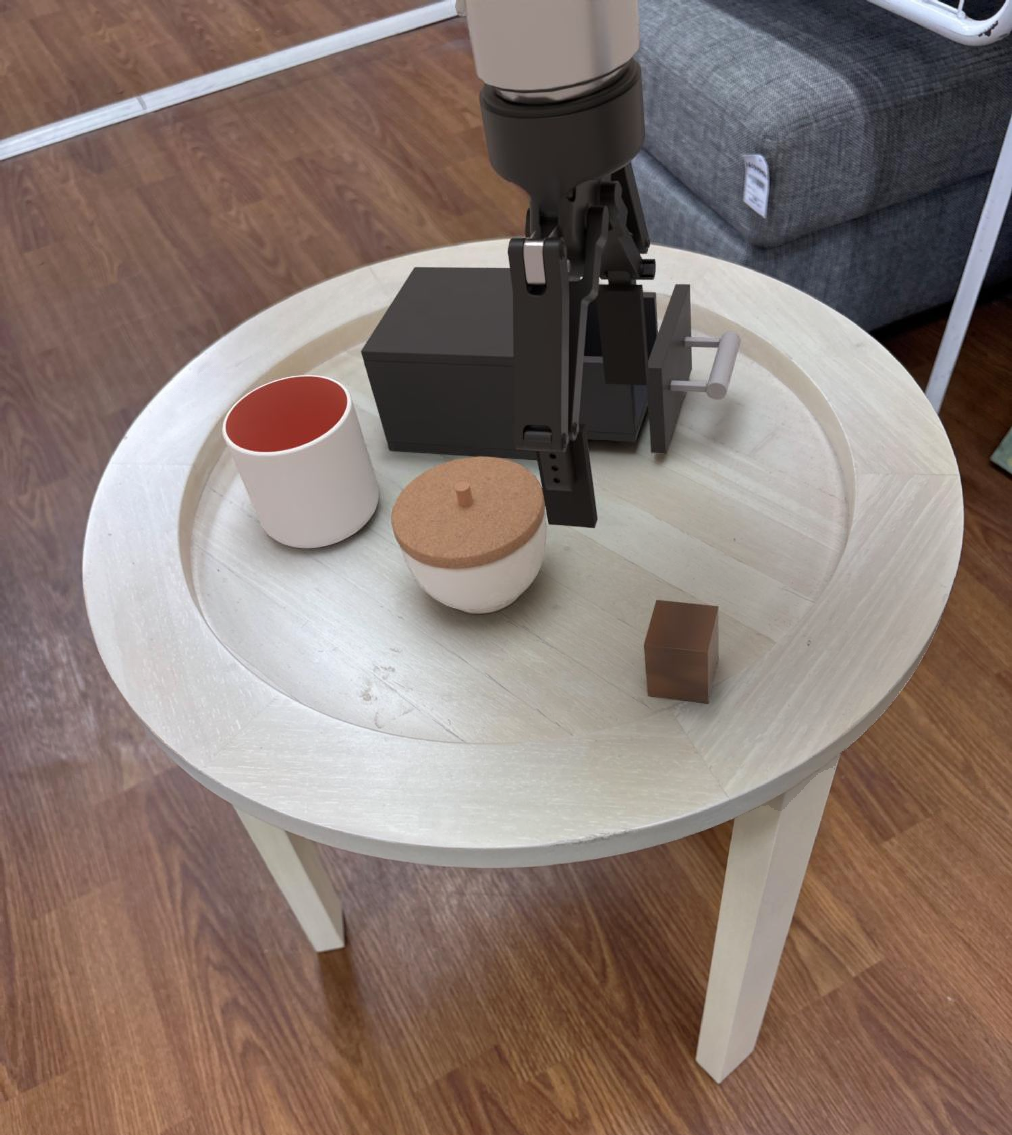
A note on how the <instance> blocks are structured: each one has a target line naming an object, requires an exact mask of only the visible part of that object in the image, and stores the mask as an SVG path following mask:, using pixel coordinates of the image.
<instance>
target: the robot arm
mask: <svg viewBox="0 0 1012 1135" xmlns="http://www.w3.org/2000/svg"><path fill="white" fill-rule="evenodd" d="M454 7H455V11H456V14H457V15H458V16H459V17H460V18H464V19H466V23H467V29H468V36H469V41H470V47H471V53H472V59H473V65H474V70H475V75H476V76H477V78H478V79H480V81H482V82H483V83H484V84H483V85H482V88H481V90H479V91H480V92H479V95H478V102H479V106H480V112H481V118H482V119H481V120H482V125H483V130H484V136H485V141H486V147H487V148H486V149H487V153H488V154H487V155H488V159H489V162H490V166H491V168H492V169H493V171H494V172H495V173H496V174H497V175H498V176H499V177H500V178H501V179H503V180H505V181H506V182H509V183H512V184H514V185H515V186H518V187H519V188H520V189H522V190H523V191H525V193H526V194H527V195H528V196H529V198H530V201H529V204H528V205H529V207H528V208H527V210H526V214H525V226H524V235H525V237H511V238H510V239H509V241H508V246H507V257H508V266H509V268H510V274H511V282H512V290H513V358H514V425H512V430H513V435H514V442H515V447H516V449H520V450H533V451H536V456H537V460H536V462H537V467H538V474H539V478H540V484H541V487H542V491H543V496H544V502H545V515H546V520H547V524H548V525H549V526H561V527H562V526H563V527H575V528H586V529H595V528H596V526H597V524H598V523H597V522H598V519H599V518H598V517H599V516H598V510H597V502H596V495H595V487H594V480H593V470H592V464H591V456H590V455H591V454H590V447H589V441H588V440H589V439H587V432H586V424H579V411H580V398H581V384H582V371H583V358H584V345H585V332H586V319H587V307H588V304H589V303H590V302H591V301H593V300H594V299H595V298H596V301H597V310H598V320H599V329H600V338H601V348H602V357H603V366H604V375H605V384H622V385H647V383H648V381H649V368H648V354H647V340H646V326H645V312H644V299H643V292H644V288H643V285H644V284H637V281H654V280H655V277H656V272H657V263H656V258H643V257H642V255H648V253H649V248H651V239H650V237H649V236H650V235H649V231H648V227H647V223H646V218H645V215H644V210H643V207H642V202H641V198H640V194H639V190H638V185H637V180H636V177H635V173H634V168H633V165H632V161H633V160H634V159H635V158H636V157H637V155H638V154H639V153H640V151H641V150H642V148H643V146H644V143H645V139H646V124H645V122H646V121H645V120H646V119H645V107H644V93H643V92H644V90H643V74H642V73H643V72H642V68H641V65H640V63H639V62H638V61H637V60H635V58H634V56H635V55H636V54H637V53H638V51H639V49H640V47H641V44H642V42H641V28H640V15H639V2H638V0H456V1H455V5H454ZM568 277H580V279H581V280H579V281H569V278H568ZM600 280H601V281H607V283H606V284H605V283H603V284H602V283H600Z"/></svg>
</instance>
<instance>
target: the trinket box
mask: <svg viewBox="0 0 1012 1135" xmlns="http://www.w3.org/2000/svg"><path fill="white" fill-rule="evenodd" d="M390 521H391V522H390V524H391V527H392V532H393V534H394V538H395V540H396V543H398V545H399V548H400V552H401V555H402V557H403V559H404V562H405V564H406V566H407V568H408V570H409V571H410V573H411V575H412V577H413V578H414V580H415V581H416V582H417V584H418V585H419V587H421V589H422V590H423V591H424V592H425V593H426V594H428V596H430V597H431V598H433V599H434V600H435V601H437V602H439V603H440V604H443V605H444V606H446V607H448V608H449V607H450V608H452V609H456V610H459V611H461V612H464V613H467V614H475V615H479V614H490V613H494V612H497V611H500V610H503V609H505V608H507V607H508V606H510V605H512V603H514V602H515V601H517V599H518V598H520V596H521V595H522V594H523V593H524V592H525V591H526V590H527V589H528V588H529V587H530V586H531V585H532V583H533V582H534V580H535V579H536V578H537V576H538V574H539V572H540V570H541V568H542V565H543V562H544V558H545V555H546V549H547V539H548V538H547V536H548V534H547V532H548V531H547V530H548V529H547V528H548V526H547V516H546V508H545V502H544V496H543V491H542V485H541V481H539V479H538V478H537V476H536V475H535V474H534V473H532V472H531V471H530V470H529V469H527V468H526V467H524V466H523V465H521V464H520V463H517V462H514V461H512V460H509V459H507V458H503V457H487V456H470V457H463V458H456V459H452V460H450V461H447V462H443V463H441V464H438V465H435V466H433V467H431V468H429V469H428V470H426V471H424V472H422V473H421V474H419V475H418V476H416V477H415V478H413V479H412V481H410V482H408V484H407V485H406V486H405V487H404V488H403V489H402V490H401V492H400V493H399V495H398V496H397V498H396V500H395V502H394V504H393V507H392V510H391V514H390Z"/></svg>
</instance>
